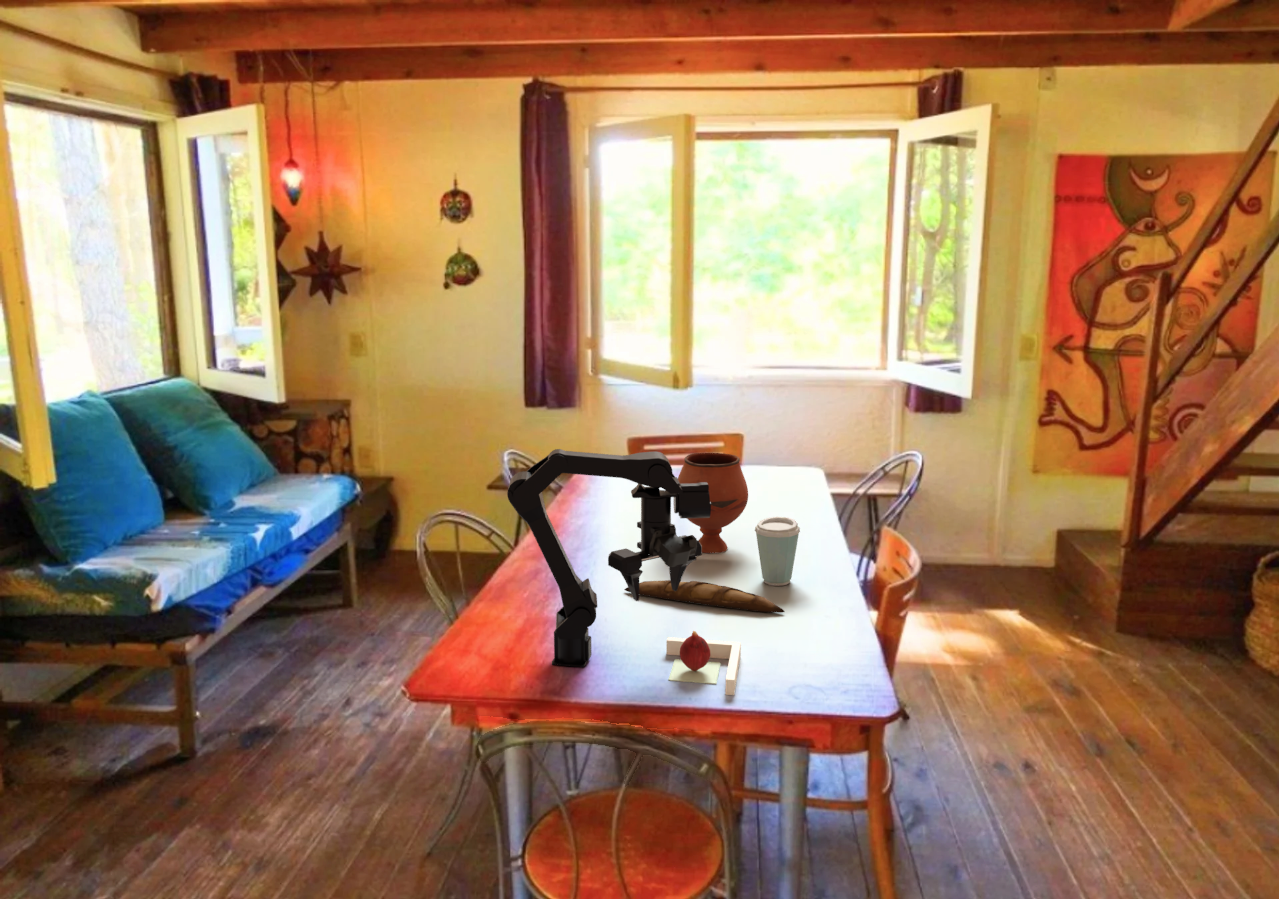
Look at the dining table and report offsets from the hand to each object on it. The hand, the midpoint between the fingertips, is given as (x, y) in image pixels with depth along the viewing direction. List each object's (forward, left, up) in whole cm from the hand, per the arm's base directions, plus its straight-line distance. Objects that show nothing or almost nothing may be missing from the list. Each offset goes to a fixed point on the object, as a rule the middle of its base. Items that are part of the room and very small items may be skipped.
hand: (655, 595), depth 185 cm
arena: (+8, -5, -13) cm, 16 cm away
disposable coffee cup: (+22, +47, -13) cm, 54 cm away
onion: (+8, -5, -13) cm, 16 cm away
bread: (+6, +30, -13) cm, 33 cm away
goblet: (+4, +69, -13) cm, 70 cm away
